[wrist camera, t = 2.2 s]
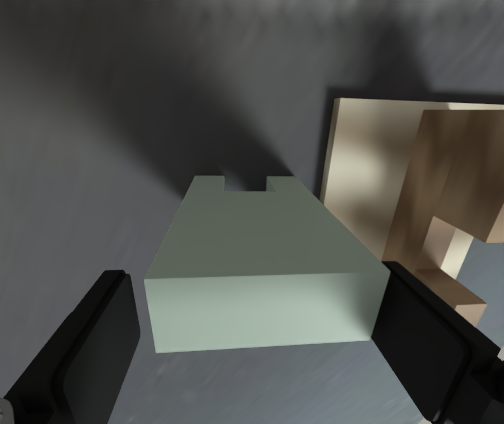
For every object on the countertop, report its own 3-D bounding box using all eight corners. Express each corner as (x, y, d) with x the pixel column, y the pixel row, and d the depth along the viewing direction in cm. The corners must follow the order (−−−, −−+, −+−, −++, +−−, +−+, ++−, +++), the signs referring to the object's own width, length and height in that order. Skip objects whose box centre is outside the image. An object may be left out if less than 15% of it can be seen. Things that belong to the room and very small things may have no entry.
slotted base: (334, 98, 17) (417, 90, 9) (515, 106, 18) (709, 103, 11) (304, 302, 24) (338, 388, 16) (436, 296, 25) (523, 374, 18)
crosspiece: (195, 175, 18) (143, 279, 7) (294, 176, 19) (390, 271, 8) (197, 213, 19) (156, 352, 8) (290, 212, 20) (370, 340, 9)
